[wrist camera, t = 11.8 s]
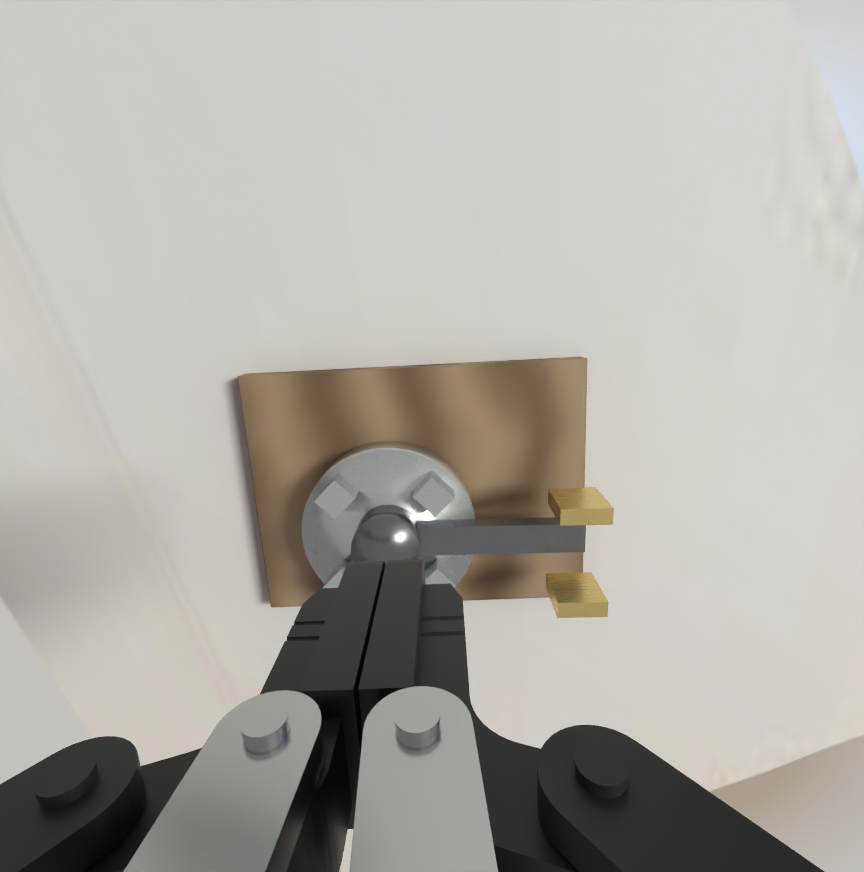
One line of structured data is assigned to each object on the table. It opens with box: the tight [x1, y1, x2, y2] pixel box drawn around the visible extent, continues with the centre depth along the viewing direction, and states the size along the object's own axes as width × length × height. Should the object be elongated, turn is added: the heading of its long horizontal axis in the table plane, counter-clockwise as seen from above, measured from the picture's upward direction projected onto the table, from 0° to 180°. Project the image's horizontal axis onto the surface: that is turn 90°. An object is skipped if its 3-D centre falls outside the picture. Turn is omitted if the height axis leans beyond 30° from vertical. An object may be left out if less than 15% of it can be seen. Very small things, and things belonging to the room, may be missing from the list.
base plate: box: [238, 357, 587, 607], centre depth 37 cm, size 24×18×2 cm
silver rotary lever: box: [302, 441, 614, 618], centre depth 33 cm, size 12×20×7 cm, turn 92°
